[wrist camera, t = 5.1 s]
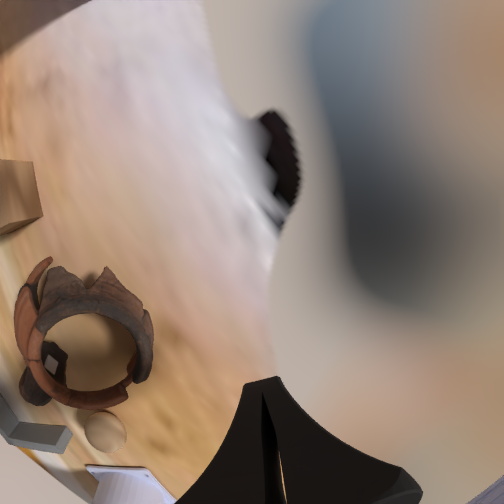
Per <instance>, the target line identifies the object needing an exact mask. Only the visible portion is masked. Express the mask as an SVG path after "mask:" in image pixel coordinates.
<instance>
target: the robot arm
mask: <svg viewBox="0 0 504 504" xmlns="http://www.w3.org/2000/svg"><path fill="white" fill-rule="evenodd" d="M279 453H280V457H279ZM280 459H281V465H282V472H283V478H284V485H285V492H286V499H285V495H284V490H283V484H282V476H281V467H280ZM86 469H87V470H88V471H89V472H90V473H91V474H92V475H93V476H94V477H95V478H96V479H97V480H98V481H99V484H98V487H97V490H96V493H95V496H94V499H93V502H92V504H286V500H287V504H419V502H420V500H421V498H422V495H423V491H422V489H421V487H420V486H419V484H418V483H417V482H416V481H415V480H414V479H413V478H412V477H411V476H410V475H409V474H408V473H407V472H406V471H405V470H404V469H403V468H401V467H398V466H395V465H392V464H389V463H386V462H383V461H381V460H378V459H376V458H374V457H371V456H369V455H367V454H365V453H363V452H361V451H359V450H357V449H355V448H353V447H351V446H350V445H348V444H346V443H344V442H343V441H341V440H340V439H338V438H336V437H335V436H334V435H332V434H331V433H329V432H328V431H327V430H325V429H324V428H323V427H321V426H320V425H319V424H318V423H317V422H315V420H314V419H312V418H311V417H310V416H309V415H308V414H307V413H306V412H305V411H304V410H303V409H302V408H301V407H300V405H299V404H298V403H297V402H296V401H295V400H294V399H293V398H292V396H291V395H290V393H289V392H288V391H287V389H286V388H285V386H284V385H283V383H282V381H281V378H280V377H278V376H274V377H271V378H267V379H263V380H259V381H255V382H250V383H246V384H245V385H244V386H243V390H242V394H241V398H240V402H239V405H238V408H237V411H236V413H235V416H234V419H233V421H232V424H231V426H230V428H229V430H228V432H227V435H226V437H225V439H224V441H223V443H222V444H221V446H220V448H219V450H218V452H217V453H216V455H215V456H214V458H213V460H212V461H211V462H210V464H209V465H208V467H207V468H206V469H205V471H204V472H203V473H202V475H201V476H200V477H199V478H198V480H197V481H196V482H195V483H194V484H193V485H192V486H191V487H190V488H189V489H188V491H187V492H186V493H185V494H184V495H183V496H182V497H181V498H180V499H179V500H176V499H175V498H174V497H173V496H172V495H171V494H170V493H169V492H168V491H167V490H166V489H165V488H164V487H163V486H162V485H161V484H160V483H159V482H158V480H157V479H156V478H155V477H154V476H153V475H152V474H151V473H150V471H149V470H148V469H146V468H123V467H103V466H91V465H87V467H86ZM466 504H504V475H503V476H502V477H501V478H499V479H498V480H497V481H496V482H495V483H494V484H492V485H491V486H489V487H488V488H487V489H486V490H484V491H483V492H482V493H481V494H479V495H478V496H476V497H475V498H473V499H472V500H471V501H469V502H468V503H466Z"/></svg>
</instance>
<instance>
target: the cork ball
mask: <svg viewBox="0 0 504 504" xmlns="http://www.w3.org/2000/svg"><path fill="white" fill-rule="evenodd" d="M85 435H86V438H87V440H88V442H89V443H90V444H91V445H92V446H93V447H94V448H96V449H97V450H99V451H102V452H105V453H112V452H116V451H118V450H120V449H121V448H122V447H123V446H124V444H125V442H126V438H127V434H126V429H125V427H124V425H123V423H122V422H121V421H120V420H119V419H118V418H117V417H116V416H114V415H112V414H110V413H106V412H98V413H95V414H93V415H91V416H90V417H89V418H88V419H87V421H86V423H85Z"/></svg>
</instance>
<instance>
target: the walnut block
mask: <svg viewBox="0 0 504 504" xmlns="http://www.w3.org/2000/svg"><path fill="white" fill-rule="evenodd" d="M42 216H43V212H42V208H41V203H40V199H39V194H38V189H37V183H36V178H35V172H34V166H33V162H28V161H15V160H1V159H0V235H4V234H7V233H10V232H12V231H14V230H16V229H18V228H20V227H22V226H24V225H26V224H28V223H30V222H32V221H34V220H36V219H38V218H40V217H42Z"/></svg>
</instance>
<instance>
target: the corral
mask: <svg viewBox="0 0 504 504" xmlns="http://www.w3.org/2000/svg"><path fill="white" fill-rule="evenodd" d="M0 434H1V435H2V436H3V437H4V438H5V440H6V441H7V443H8V444H10V445H14V446H19V447H23V448H28V449H33V450H38V451H44V452H50V453H57V454H63V453H64V451H65V449H66V447H67V445H68V443H69V441H70V439H71V437H72V435H73V434H72V432H71V431H70V430H69V428H68V427H67V426H58V425H44V424H33V423H24V422H19V421H18V419H17V418H16V417H15V415H14V414H13V412H12V411H11V409H10V408H9V406H8V405H7V403H6V402H5V400H4V399H3V397H2V396H1V394H0Z"/></svg>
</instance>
